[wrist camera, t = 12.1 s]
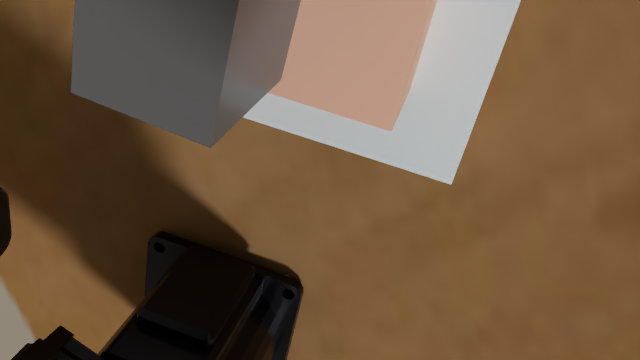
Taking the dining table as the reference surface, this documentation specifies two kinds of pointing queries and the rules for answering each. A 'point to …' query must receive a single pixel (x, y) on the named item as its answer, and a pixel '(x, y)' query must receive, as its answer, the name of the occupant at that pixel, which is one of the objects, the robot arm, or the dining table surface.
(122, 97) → the frame bar
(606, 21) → the dining table surface
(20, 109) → the dining table surface
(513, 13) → the display stand
